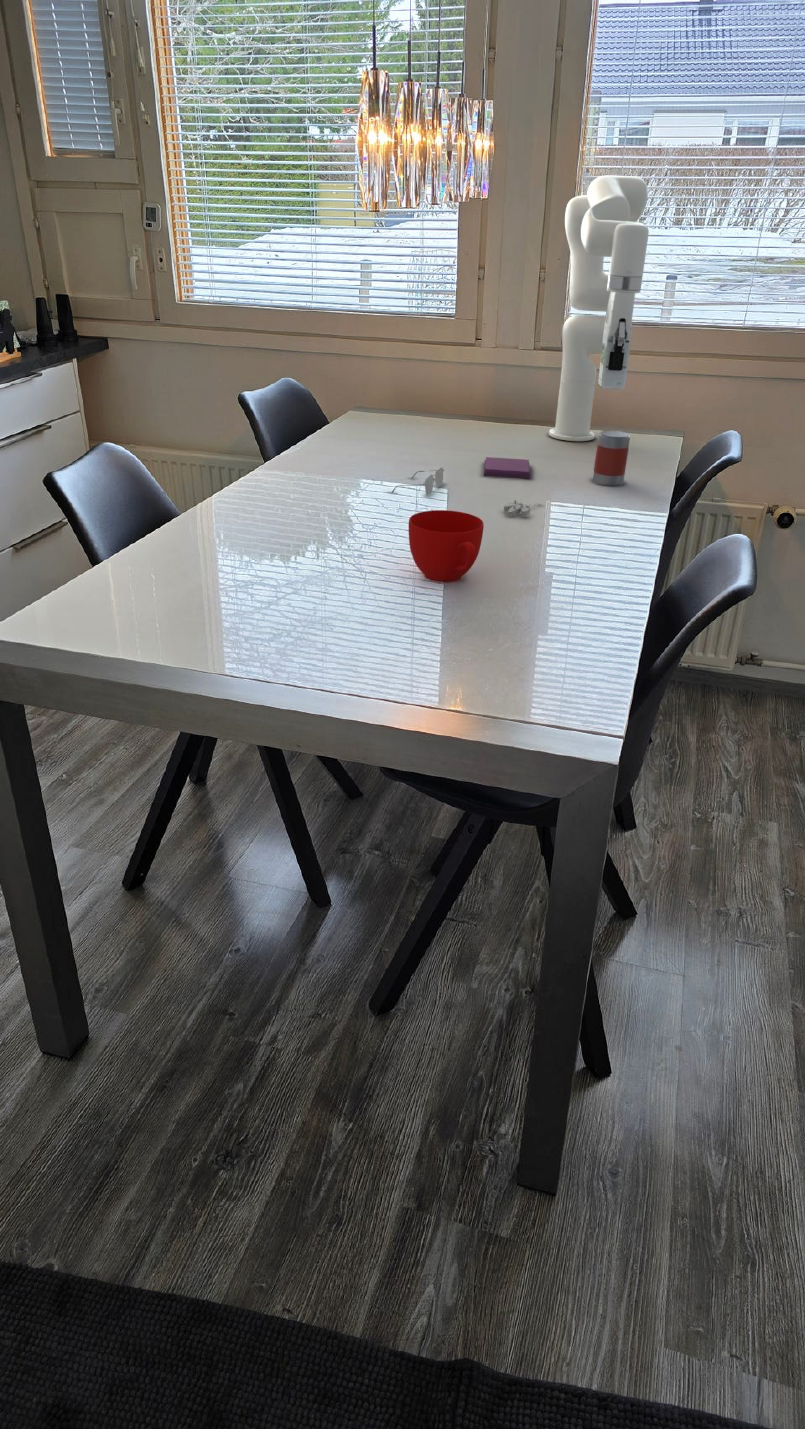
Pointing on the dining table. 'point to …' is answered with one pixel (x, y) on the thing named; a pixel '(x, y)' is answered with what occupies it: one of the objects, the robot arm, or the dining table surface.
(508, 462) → the purple square slab
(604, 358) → the syrup box
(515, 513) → the game controller
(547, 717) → the dining table surface
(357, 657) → the dining table surface
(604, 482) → the tin can
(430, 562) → the ceramic cup
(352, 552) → the dining table surface
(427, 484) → the eyeglasses
